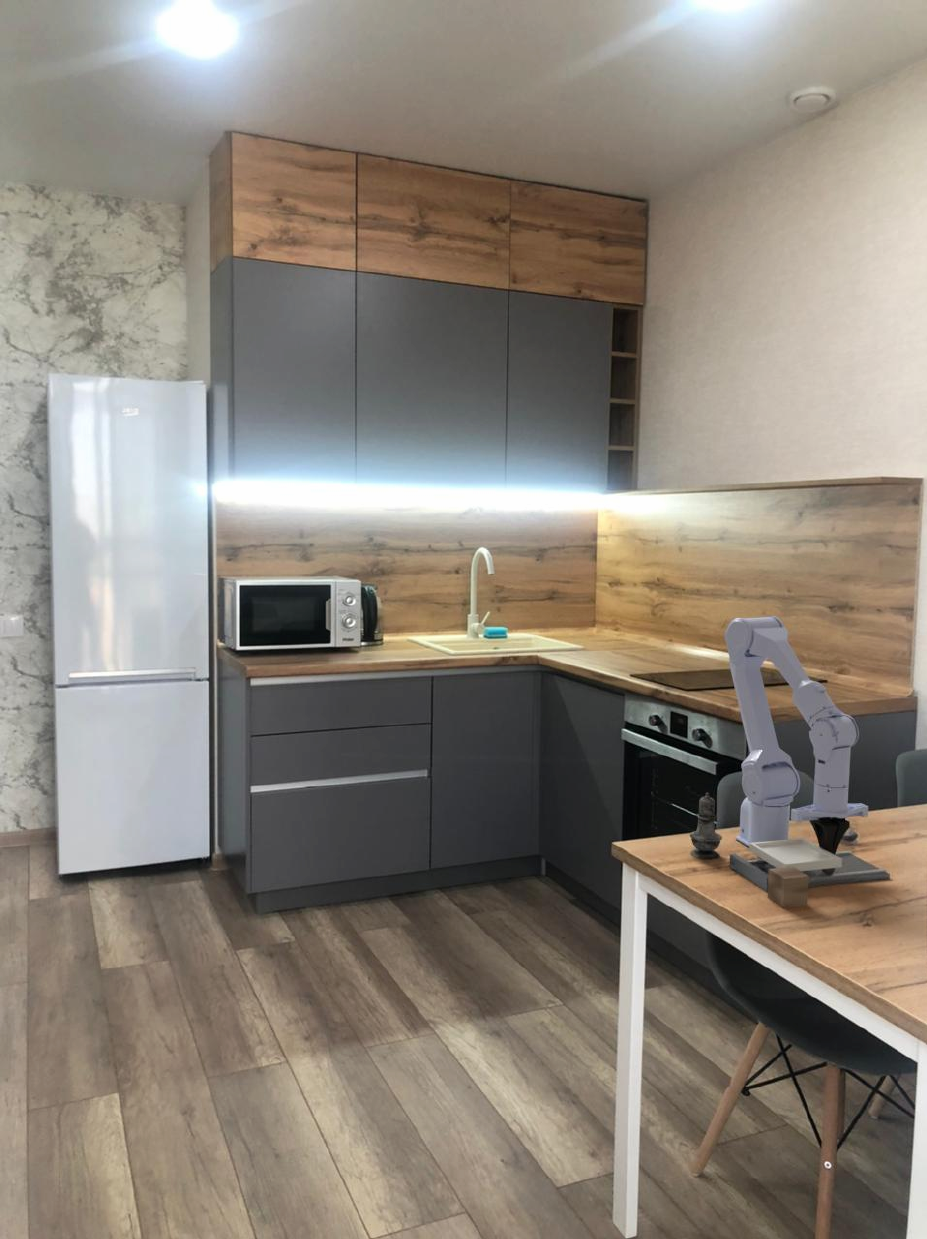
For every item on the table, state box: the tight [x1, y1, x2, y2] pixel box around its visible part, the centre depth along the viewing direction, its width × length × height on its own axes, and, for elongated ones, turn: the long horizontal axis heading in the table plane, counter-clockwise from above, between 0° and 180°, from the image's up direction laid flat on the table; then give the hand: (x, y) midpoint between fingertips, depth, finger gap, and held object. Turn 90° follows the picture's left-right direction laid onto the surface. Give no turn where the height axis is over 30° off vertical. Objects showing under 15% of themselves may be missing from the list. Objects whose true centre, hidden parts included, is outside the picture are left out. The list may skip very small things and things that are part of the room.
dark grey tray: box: [728, 850, 891, 893], centre depth 178 cm, size 12×24×2 cm, turn 106°
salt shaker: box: [689, 791, 723, 860], centre depth 186 cm, size 6×6×12 cm
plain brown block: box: [767, 867, 809, 908], centre depth 165 cm, size 4×4×5 cm
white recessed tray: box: [748, 837, 842, 875], centre depth 177 cm, size 11×11×3 cm
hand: (827, 857), depth 179 cm, fingers closed
